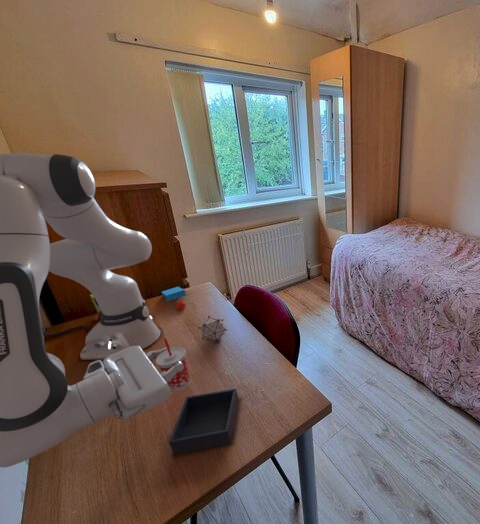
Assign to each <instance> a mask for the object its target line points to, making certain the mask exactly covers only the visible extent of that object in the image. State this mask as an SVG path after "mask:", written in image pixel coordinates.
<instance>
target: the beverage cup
mask: <svg viewBox="0 0 480 524" xmlns="http://www.w3.org/2000/svg"><path fill="white" fill-rule="evenodd" d="M163 340H164V345H165V347H167V350H166V351H164V352H162V353H161V354H160V355H159V356H158V357H157V359H155V363H156V365H157V367H158V368H159V369H160V371H161V373H162V372H164V371H166V372H167V371H168V370H169V369H170V368H171V367H172V364H173V363H176V362H177V361H181V362H182V364H183V366H184V369H183V370H181V371H180V372H178V373H176V375H175V376H174V377H173V378H172V379H171V380H170V381H169V382H167V384H168V386H169V389H170V391H171V392H176V393H177V392H181V391H183V390H185V389H186V388H188V387H189V386H190V385H191V383H192V378H191V374H190V369H189V365H188V362H187V352H186V349H185V348H184V347H179V346H176V347H172V348H170V345H169V342H168V338H163Z"/></svg>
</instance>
